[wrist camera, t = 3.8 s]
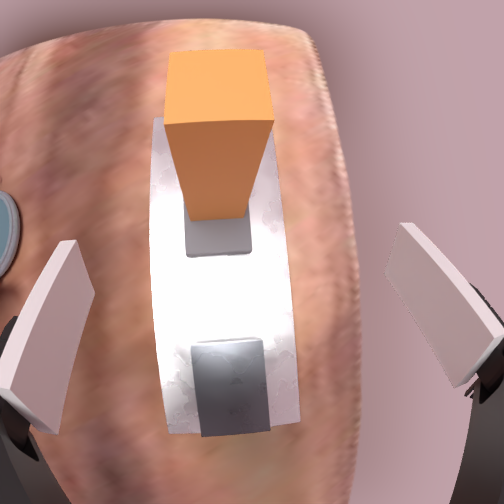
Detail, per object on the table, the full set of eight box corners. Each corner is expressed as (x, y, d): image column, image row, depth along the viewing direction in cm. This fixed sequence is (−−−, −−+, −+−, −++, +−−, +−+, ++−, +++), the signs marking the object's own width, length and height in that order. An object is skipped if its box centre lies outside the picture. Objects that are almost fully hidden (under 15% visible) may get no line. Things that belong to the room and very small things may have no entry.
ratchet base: (156, 126, 27) (148, 99, 23) (267, 120, 28) (275, 93, 24) (171, 427, 23) (163, 448, 18) (296, 416, 24) (310, 434, 19)
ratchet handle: (186, 69, 27) (180, -48, 13) (235, 67, 27) (250, -49, 13) (187, 257, 23) (146, 188, 9) (250, 253, 24) (297, 181, 10)
